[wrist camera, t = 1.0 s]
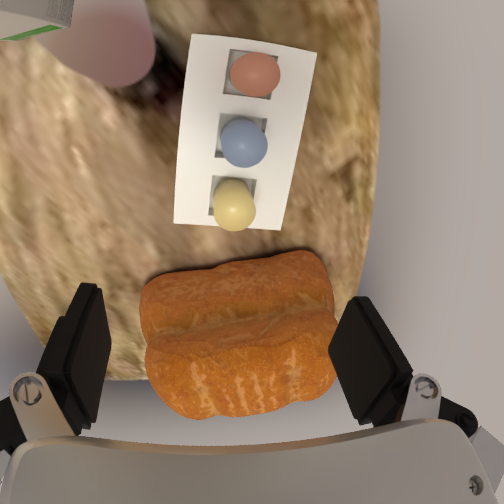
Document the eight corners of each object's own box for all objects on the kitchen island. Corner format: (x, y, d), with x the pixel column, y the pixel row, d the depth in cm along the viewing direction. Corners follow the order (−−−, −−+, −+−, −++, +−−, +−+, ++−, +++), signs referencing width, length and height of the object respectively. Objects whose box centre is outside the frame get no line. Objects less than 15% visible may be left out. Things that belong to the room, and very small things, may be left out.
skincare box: (15, 41, 20) (-75, 48, 7) (22, -6, 16) (-60, -21, 3) (73, 27, 21) (-10, 13, 9) (82, -23, 18) (11, -62, 5)
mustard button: (214, 177, 31) (216, 191, 28) (253, 180, 32) (259, 195, 28) (211, 211, 33) (212, 229, 30) (247, 214, 34) (252, 232, 30)
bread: (320, 318, 50) (355, 405, 36) (167, 346, 49) (164, 438, 35) (322, 239, 41) (376, 333, 27) (134, 274, 40) (110, 379, 26)
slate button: (222, 115, 27) (225, 121, 24) (263, 120, 28) (271, 127, 25) (217, 154, 30) (219, 165, 26) (256, 158, 30) (263, 169, 27)
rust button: (232, 52, 24) (236, 48, 21) (274, 58, 25) (284, 56, 21) (226, 91, 26) (229, 93, 23) (267, 96, 27) (276, 100, 24)
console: (193, 37, 25) (191, 33, 22) (306, 54, 27) (317, 53, 24) (176, 209, 36) (173, 223, 33) (274, 216, 38) (280, 230, 35)
